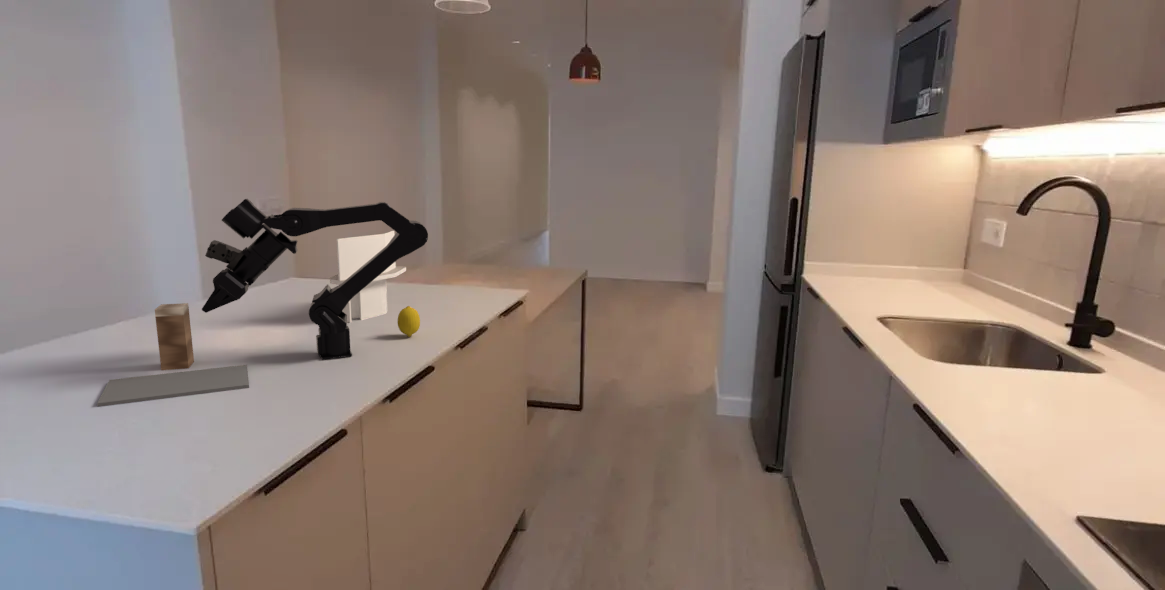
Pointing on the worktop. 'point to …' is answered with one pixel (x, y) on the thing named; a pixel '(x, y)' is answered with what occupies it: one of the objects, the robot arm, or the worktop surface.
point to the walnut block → (174, 336)
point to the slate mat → (174, 385)
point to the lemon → (408, 321)
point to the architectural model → (354, 257)
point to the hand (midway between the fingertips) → (208, 306)
